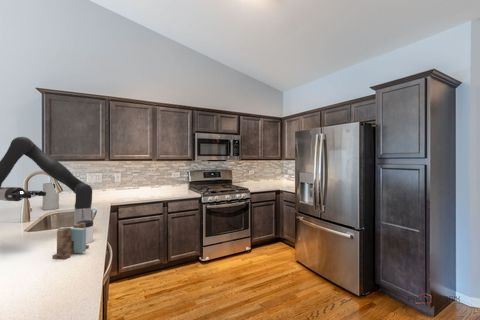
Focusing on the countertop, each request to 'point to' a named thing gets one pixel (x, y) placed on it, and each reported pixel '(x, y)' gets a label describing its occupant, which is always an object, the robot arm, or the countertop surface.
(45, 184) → the cylinder vase
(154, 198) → the countertop surface
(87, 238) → the jar
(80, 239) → the teal rectangular panel
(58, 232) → the brown wooden u-shaped piece
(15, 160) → the robot arm
